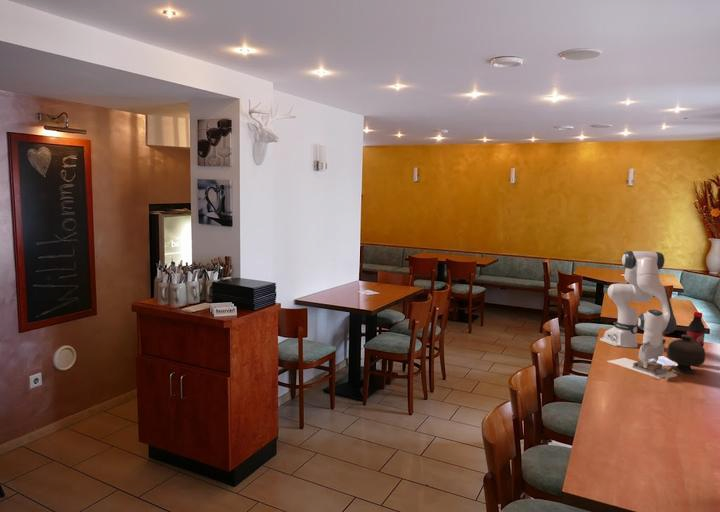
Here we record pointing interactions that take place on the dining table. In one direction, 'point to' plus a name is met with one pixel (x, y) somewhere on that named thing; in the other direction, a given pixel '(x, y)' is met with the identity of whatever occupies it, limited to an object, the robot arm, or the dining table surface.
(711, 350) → the dining table surface
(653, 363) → the frame
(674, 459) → the dining table surface
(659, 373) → the wall panel
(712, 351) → the dining table surface
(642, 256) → the robot arm
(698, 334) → the cola bottle
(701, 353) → the pot
